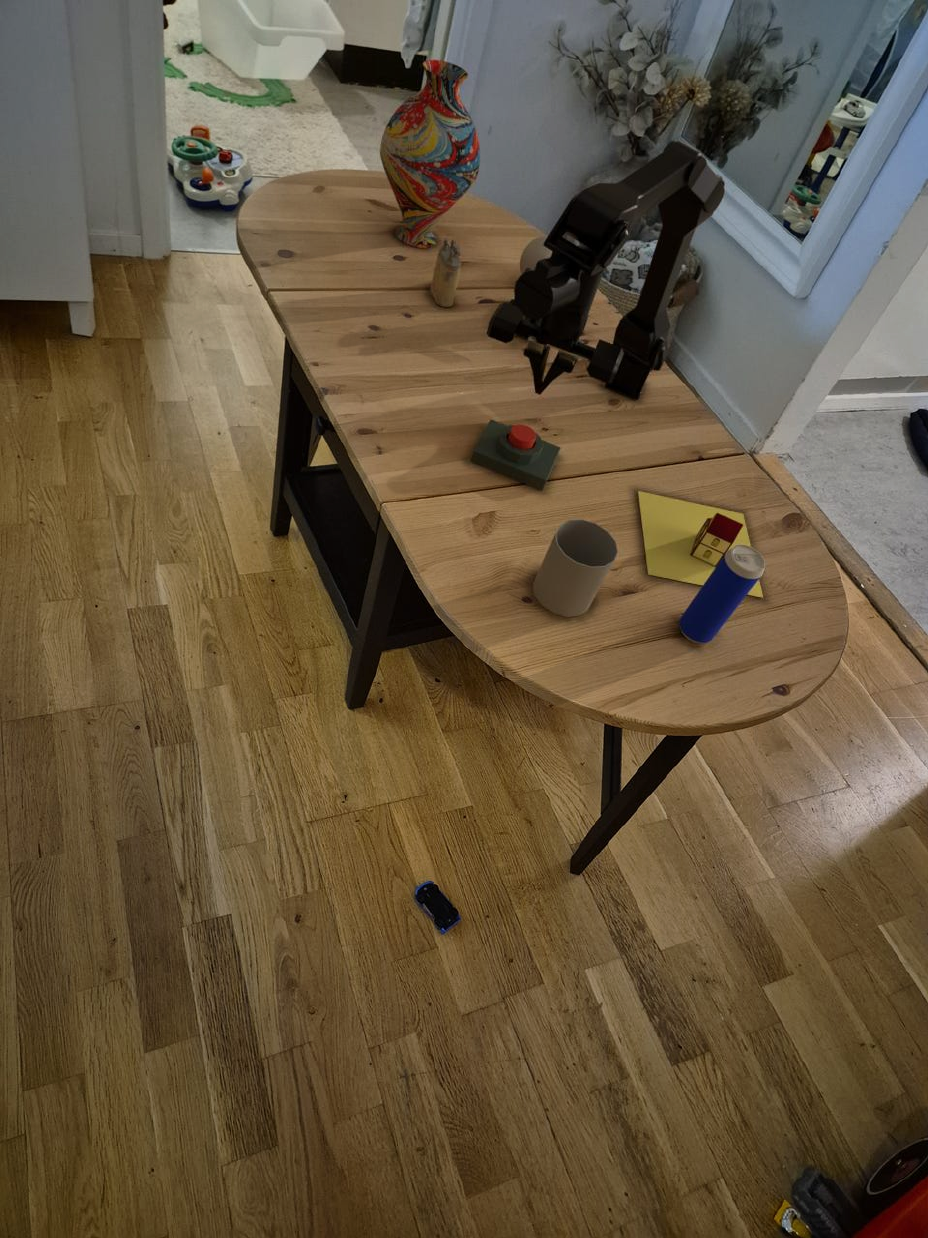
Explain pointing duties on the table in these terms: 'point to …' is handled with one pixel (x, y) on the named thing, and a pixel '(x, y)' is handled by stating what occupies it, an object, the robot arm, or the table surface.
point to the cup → (574, 567)
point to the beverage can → (722, 593)
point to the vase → (430, 152)
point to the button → (522, 437)
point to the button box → (515, 456)
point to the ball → (534, 253)
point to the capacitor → (446, 274)
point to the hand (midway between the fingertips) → (538, 392)
